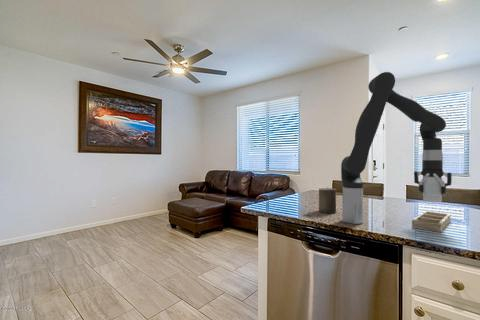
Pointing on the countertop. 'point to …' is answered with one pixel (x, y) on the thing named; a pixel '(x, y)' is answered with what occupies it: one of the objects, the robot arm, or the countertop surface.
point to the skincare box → (432, 190)
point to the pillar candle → (327, 200)
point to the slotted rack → (431, 221)
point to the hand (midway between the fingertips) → (432, 193)
